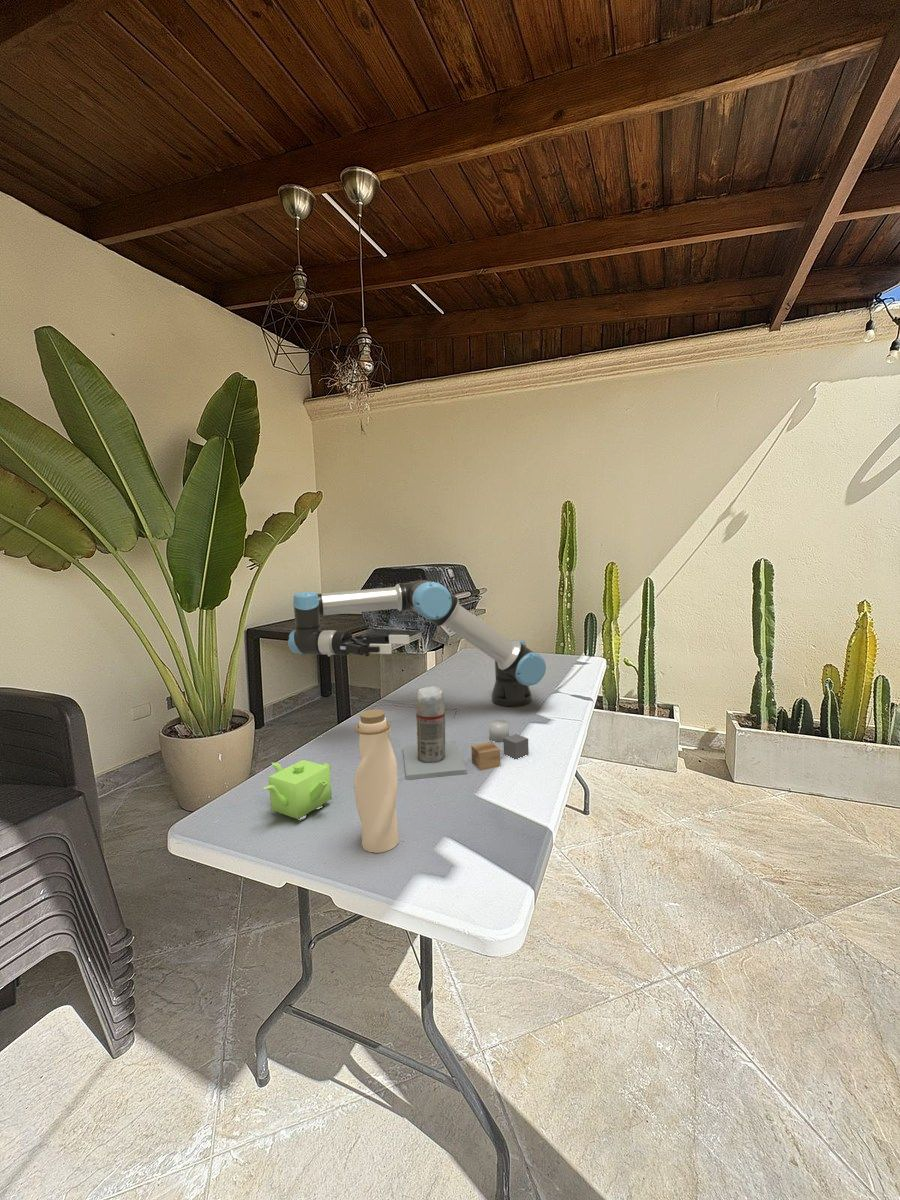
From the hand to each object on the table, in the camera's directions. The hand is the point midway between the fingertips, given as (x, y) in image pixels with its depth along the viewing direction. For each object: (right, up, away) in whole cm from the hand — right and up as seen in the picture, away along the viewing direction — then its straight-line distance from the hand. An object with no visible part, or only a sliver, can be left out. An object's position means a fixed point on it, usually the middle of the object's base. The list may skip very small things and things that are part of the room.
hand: (400, 644), depth 158 cm
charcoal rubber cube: (+34, -32, -5) cm, 46 cm away
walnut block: (+25, -33, -10) cm, 42 cm away
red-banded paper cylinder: (+10, -32, -7) cm, 34 cm away
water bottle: (0, -38, -45) cm, 59 cm away
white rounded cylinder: (+30, -30, +8) cm, 43 cm away
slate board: (+10, -33, -7) cm, 35 cm away
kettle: (-21, -37, -31) cm, 53 cm away
